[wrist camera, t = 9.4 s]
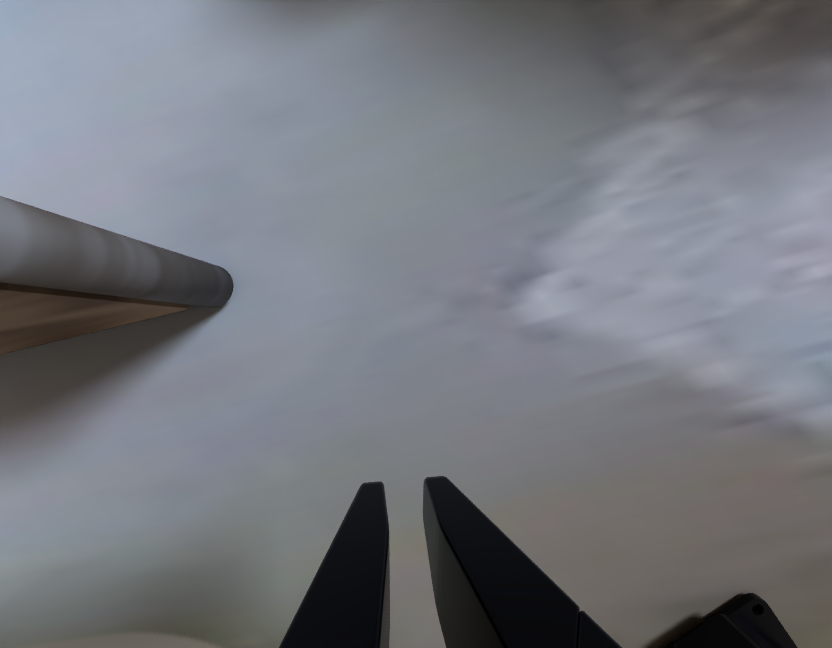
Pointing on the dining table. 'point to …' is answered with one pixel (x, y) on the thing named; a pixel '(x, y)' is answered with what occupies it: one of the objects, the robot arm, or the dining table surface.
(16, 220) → the walnut gate
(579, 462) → the dining table surface
